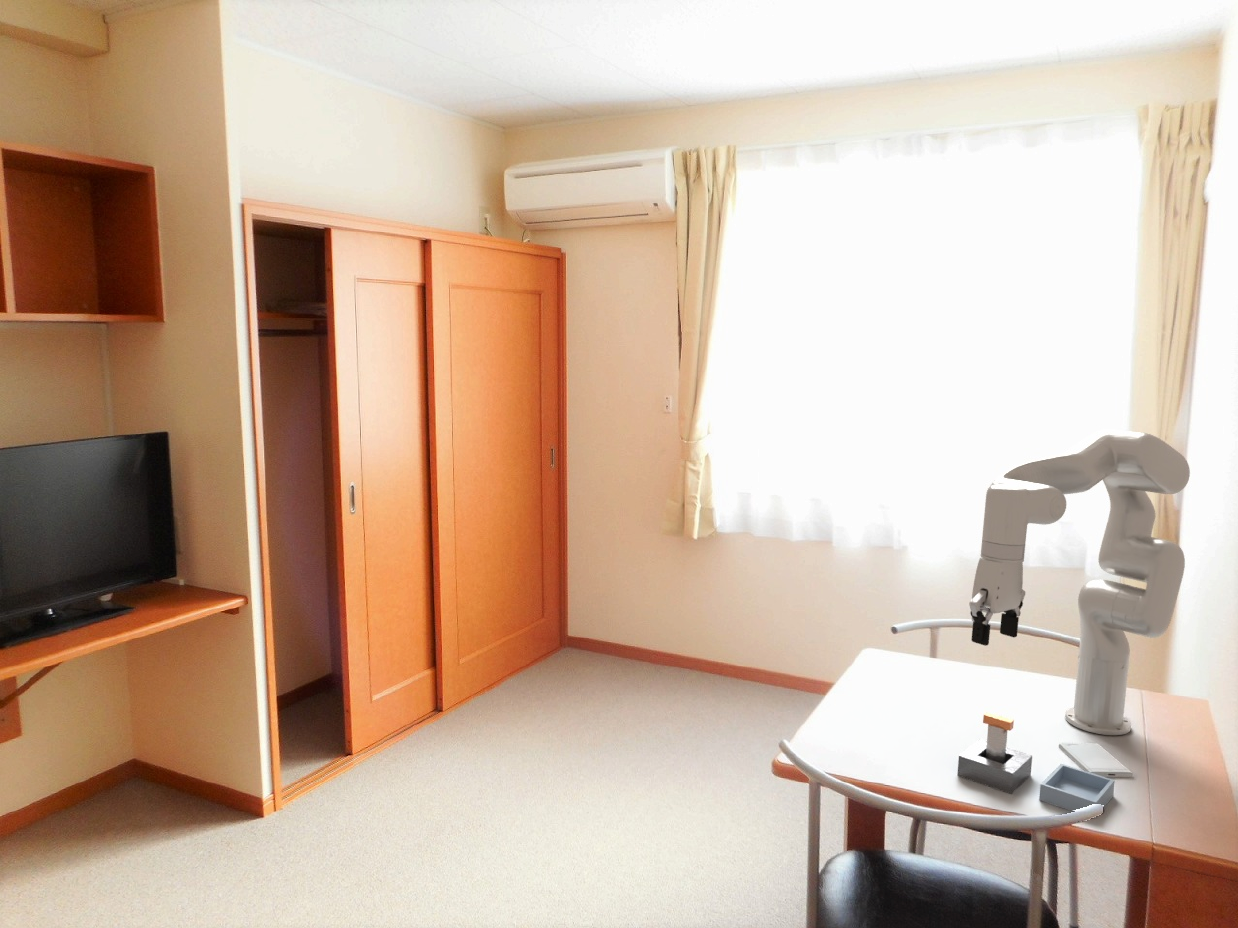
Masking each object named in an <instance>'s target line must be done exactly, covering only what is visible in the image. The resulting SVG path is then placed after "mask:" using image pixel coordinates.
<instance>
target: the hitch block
mask: <svg viewBox="0 0 1238 928" xmlns="http://www.w3.org/2000/svg"><path fill="white" fill-rule="evenodd" d="M986 747H987V740H984V739H981V738H979V739H978V740H977V741H975V742H973V744H972V745H970V746H969V747H968V748H966V749H965V750H964V751H963V752H961V753H960V754H958V763H957V776H958V777H960V778H964V779H966V780H969V781H971V782H976V783H977V784H978V783H979V784H981V785H984V786H987V787H989V788H993V789H995V790H998V791H1002V792H1004V793H1007V794H1010V795H1012V794H1013V793H1014V792H1016V790H1017V789H1019V787H1020V786H1021V785H1022V784H1023V783H1024V782H1026V781H1027V780H1028V779H1029V778H1030V776H1031V775H1032V762H1033V755H1032V754H1028V753H1026V752H1023V751H1019V750H1017V749H1013V748H1009V747H1007V746H1006V756H1005V764H1002V763H999V762H996V761H993V760H989V759H986Z"/></svg>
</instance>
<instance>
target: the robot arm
mask: <svg viewBox="0 0 1238 928" xmlns="http://www.w3.org/2000/svg"><path fill="white" fill-rule="evenodd" d="M1190 471H1191V470H1190V465H1189V463H1188V461H1187V458H1186V457H1185V456H1184V455H1183V454H1181V452H1179V451H1177V450H1176V449H1175V448H1174V447H1173V446H1171V445H1170V444H1168V443H1167V442H1165V441H1164V440H1163V439H1161V438H1159V437H1157V436H1156V435H1154V434H1151V433H1146V432H1137V431H1129V430H1128V431H1127V430H1119V429H1102V430H1101V429H1100V430H1098V431H1096V432H1095V431H1094V432H1093V433H1092V434H1090V435H1088V436H1087V437H1085V438H1084V439H1082V440H1081V441H1079V442H1078V443H1077V444H1075V445H1073V446H1072V447H1070V448H1069V449H1068V450H1065V452H1064V453H1061V454H1057V455H1053V456H1048V457H1044V458H1041V459H1038V460H1036V459H1035V460H1033V461H1028V462H1026V463H1025V462H1024V463H1022V464H1018V465H1015V466H1014V467H1012V468H1010V469H1008V470H1006V472H1004V473H1002V474H1001V475H999V476H998V477H997V478H996V479H995V480H994V481H993V482H991V484H990V485H989V487H988V488H987V490H986V494H985V502H984V503H985V504H984V506H985V507H984V515H983V527H982V537H981V538H982V539H981V546H980V547H981V549H980V557H979V559H978V563H977V566H976V569H975V574H974V575H975V576H974V581H973V586H972V594H971V600H970V601H969V609H970V613H969V614H970V616H971V622H972V631H971V642H973V643H975V644H979V645H982V646H988V645H989V644H990V634H991V624H989V622H990V621H991V619H992V617H993V615H994V614H999V613H1001V619H1000V627H999V633H1000V634H1001V635H1004V636H1006V637H1011V638H1017V637H1018V629H1019V620H1020V616H1021V609H1022V607H1023V605H1024V603H1023V602H1024V599H1025V597H1026V591H1025V590H1024V589H1023V583H1024V581H1023V580H1024V565H1023V563H1024V561H1025V552H1026V541H1027V530H1028V525H1029V524H1036V525H1041V526H1042V525H1043V526H1045V525H1051V524H1054V523H1056V522H1058V521H1059V520H1060V519H1061V518H1062V517H1064V514H1065V512H1066V510H1067V499H1066V497H1065V495H1071V494H1072V495H1073V494H1078V493H1085V492H1087V491H1088V490H1090V489H1092V488H1093V487H1095V486H1096V485H1098V484H1099V483H1100V482H1101V481H1103V484H1104V486H1105V488H1106V492H1107V494H1108V498H1109V505H1110V507H1109V510H1110V511H1109V515H1108V518H1107V523H1106V525H1105V526H1106V527H1105V529H1104V534H1103V537H1102V541H1101V544H1100V549H1099V553H1098V565H1099V567H1100V569H1101V570H1102V571H1104V572H1106V573H1108V574H1110V575H1113V576H1117V577H1121V578H1125V579H1129V580H1133V581H1137V582H1142V583H1146V586H1145V587H1146V588H1141V587H1137V586H1133V585H1129V584H1125V583H1121V582H1117V581H1113V580H1108V579H1092V580H1090V581H1088V582H1086V583H1084V585H1083V586H1082V587H1081V588H1080V590H1079V593H1078V597H1077V598H1078V599H1077V601H1078V602H1077V604H1078V613H1079V621H1080V622H1079V623H1080V626H1079V627H1080V633H1079V636H1080V637H1079V649H1078V661H1077V669H1076V681H1075V682H1076V684H1075V690H1074V691H1075V693H1074V704H1073V707H1071V708H1068V709H1067V710H1066V711H1065V715H1064V717H1065V720H1066V721H1067V722H1068V723H1069V724H1070V725H1072V726H1073V727H1076V728H1078V729H1080V730H1083V731H1085V732H1089V733H1093V734H1098V735H1104V736H1105V735H1106V736H1122V735H1126V734H1128V733H1129V732H1131V730H1132V724H1131V722H1130V720H1128V719H1127V718H1126V717H1125V715H1124V714H1125V704H1126V696H1127V695H1126V694H1127V685H1128V684H1127V683H1128V675H1129V666H1130V665H1129V662H1130V655H1131V649H1130V644H1129V641H1128V637H1127V635H1126V633H1130V634H1133V635H1138V636H1141V637H1145V638H1150V639H1151V638H1154V639H1155V638H1159V637H1162V636H1163V635H1164V634H1165V633H1166V631H1168V628H1169V626H1170V624H1171V621H1172V617H1173V615H1174V614H1173V613H1174V610H1175V607H1176V603H1177V600H1178V597H1179V592H1180V588H1181V585H1182V581H1183V577H1184V572H1185V567H1186V566H1185V564H1186V561H1185V555H1184V551H1183V549H1182V547H1181V546H1180V545H1178V544H1177V543H1176V542H1173V541H1171V540H1168V539H1165V538H1164V539H1163V538H1158V537H1157V538H1156V537H1153V536H1152V533H1153V529H1154V525H1155V522H1156V521H1155V520H1156V509H1155V506H1154V504H1153V502H1152V500H1151V498H1150V497H1149V495H1148V494H1147V492H1150V493H1155V494H1160V495H1161V494H1163V495H1175V494H1178V493H1180V492H1181V491H1183V490H1184V489H1185V488H1186V487H1187V484H1188V482H1189V480H1190V474H1191V472H1190ZM984 613H985V615H984ZM1125 632H1126V633H1125Z"/></svg>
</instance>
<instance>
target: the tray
mask: <svg viewBox="0 0 1238 928" xmlns="http://www.w3.org/2000/svg"><path fill="white" fill-rule="evenodd" d="M1039 786H1040V787H1039V796H1038V800H1039V801H1042V802H1044V803H1047V804H1050V805H1053V806H1056V807H1059V808H1063V809H1064V810H1068V811H1071V812H1073V811H1072V810H1076V809H1080V808H1083V807H1087V806H1089V805H1092V804H1101V805H1104V808H1105V807H1106V805H1107V804H1108V803H1109V802H1110V800H1111V799H1112V798H1113V796H1114V790H1115V779H1113V778H1112V779H1111V778H1110V777H1102V776H1099V775H1096V774H1093V773H1090V772H1086V771H1084V770H1083V769H1081V768H1080V769H1079V768H1076V767H1073V766H1070V765H1066V764H1064V763H1060V764H1059V765H1058V766H1057V767H1056V768H1054V770H1053V771H1052V772H1051V773H1050V774H1049V775H1048V776H1047V777H1046V778H1045V779H1044V780H1043V781H1042V782H1041V783H1040V785H1039Z"/></svg>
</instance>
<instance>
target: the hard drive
mask: <svg viewBox="0 0 1238 928" xmlns="http://www.w3.org/2000/svg"><path fill="white" fill-rule="evenodd" d="M1058 748H1059V749H1060V750H1061V751H1062V753H1064V754H1065V755H1066V756H1067V757H1068V758H1070V760H1072V761H1073V762H1074V764H1076V765H1077V766H1078V767H1079V768H1080V770H1083V771H1086V772H1090V773H1093V774H1096V775H1099V776H1102V777H1106V778H1133V776H1134V773H1133V772H1132V771H1131V770H1130V769H1129V768H1128V767H1126V766H1125V765H1124V764H1123V763H1122V762H1120V761H1119V760H1118V759H1117V758H1116V757H1115V756H1113V755H1112V754H1111V753H1110V752H1108V750H1106V749H1105V748H1104V747H1103V746H1101V744H1100V743H1097V742H1096V743H1095V742H1094V743H1091V742H1090V743H1089V742H1088V743H1086V742H1060V743H1059V744H1058Z"/></svg>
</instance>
